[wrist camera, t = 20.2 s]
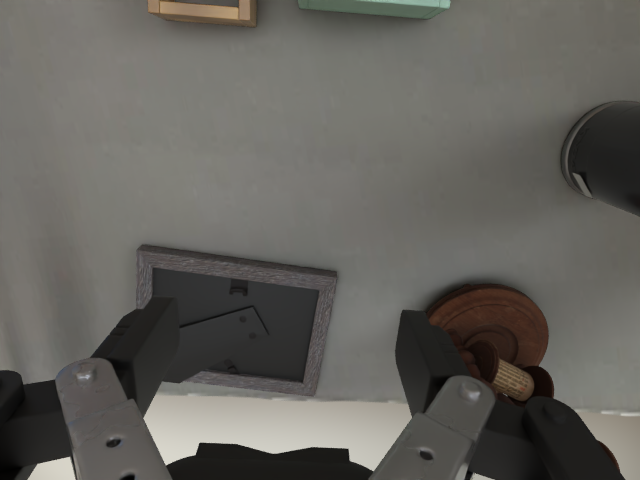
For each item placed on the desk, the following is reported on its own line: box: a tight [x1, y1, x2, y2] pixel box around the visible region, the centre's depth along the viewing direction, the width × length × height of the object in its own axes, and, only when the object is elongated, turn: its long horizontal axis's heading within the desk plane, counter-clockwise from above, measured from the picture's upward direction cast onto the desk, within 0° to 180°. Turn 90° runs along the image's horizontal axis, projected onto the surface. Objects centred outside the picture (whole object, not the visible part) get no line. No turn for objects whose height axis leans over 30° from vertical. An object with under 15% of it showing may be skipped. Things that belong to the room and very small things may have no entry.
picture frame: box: [136, 245, 337, 397], centre depth 46 cm, size 16×2×21 cm
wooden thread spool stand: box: [426, 284, 620, 472], centre depth 39 cm, size 15×15×20 cm
